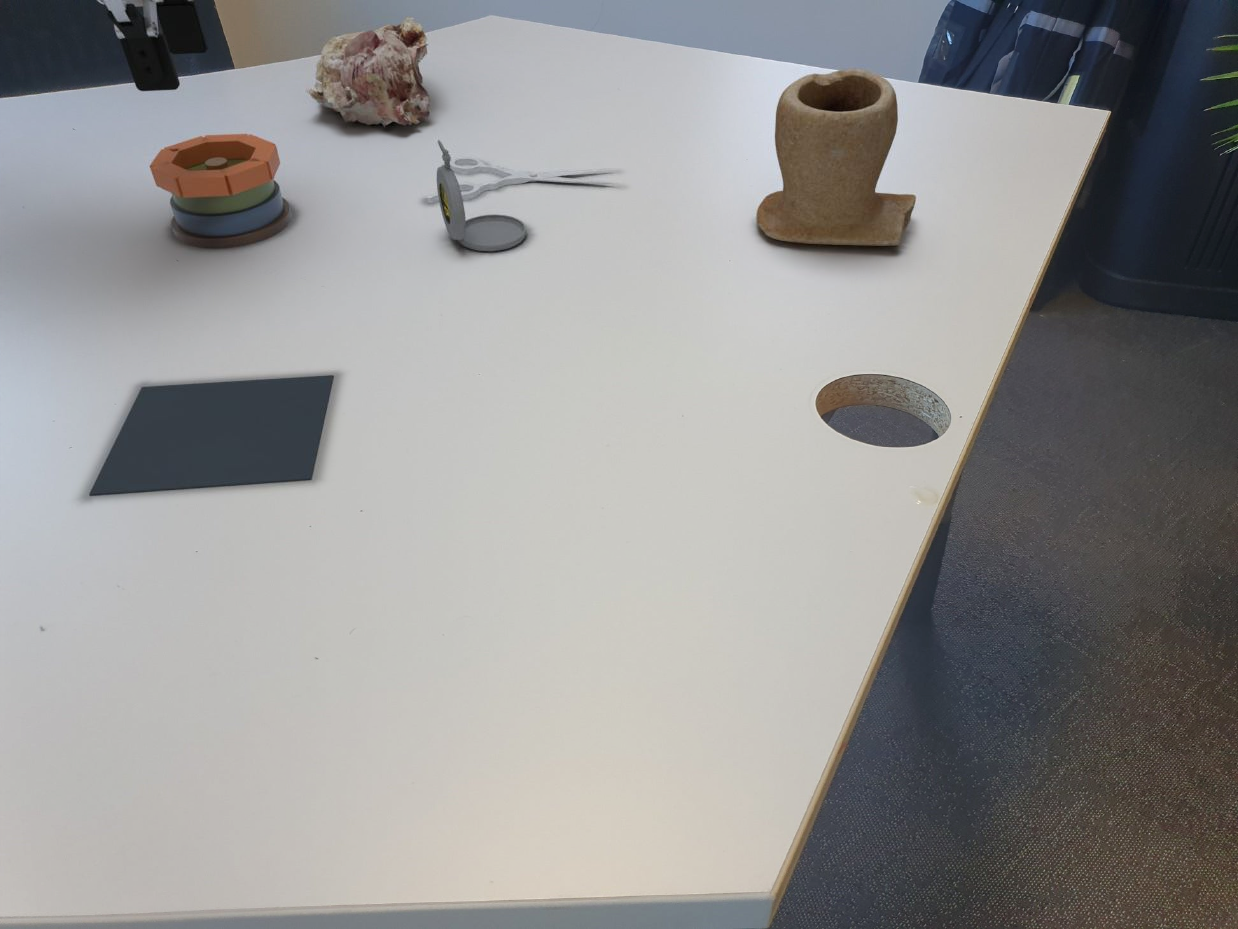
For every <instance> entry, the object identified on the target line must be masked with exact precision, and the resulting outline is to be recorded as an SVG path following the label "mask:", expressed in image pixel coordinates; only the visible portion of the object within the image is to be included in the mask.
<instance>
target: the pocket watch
mask: <svg viewBox="0 0 1238 929" xmlns="http://www.w3.org/2000/svg"><path fill="white" fill-rule="evenodd" d="M437 145H438V146H439V149H440V151H441V153H442V154H441V158H442V161H443V163H444V164H443V165H441V166H438V167H437V169H436V191H437V194H438V197H439V201H438V202H439V208H440V211H441V215H442V219H443V223H444V225H445V228H446V231H447V233H448V235H449V237H450V238H451V239H452V240H456V241H458V242H459V244H461V245H462V246H463V247H465V248H468V249H470V250H474V251H479V252H496V251H497V252H498V251H502V250H503V251H504V250H507V249H510V248H513V247H516V246H517V245H519V244H520V243H522V241H523V240H524V239H525V238H526V235H527V227H526V225H525V223H524V222H523V221H522V220H520V219H519V218H516V217H514V216H510V215H506V214H484V215H483V214H482V215H478V216H474V217H471V218H468V219H466V212H465V211H466V210H465V204H464V201H463V199H462V195H461V193H462V190H461V191H460V187H459V184H458V183H459V181H458V178H457V176H456V174H455V172H454V171H453V170H452V169H451V168H450V167H451V166H450V161H451V160H452V157H451V155H450V154H449V153H450V151H449V150H448V149H446V148H445V146H444V144H443V143H442V141H441V140H440V139H438V140H437Z"/></svg>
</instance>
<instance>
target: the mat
mask: <svg viewBox="0 0 1238 929" xmlns="http://www.w3.org/2000/svg"><path fill="white" fill-rule="evenodd" d="M334 378H335V377H334V374H329V375H328V374H327V375H314V376H313V375H312V376H296V377H280V378H265V379H249V380H232V381H231V380H230V381H215V382H214V381H213V382H200V383H199V382H197V383H183V384H171V385H170V384H168V385H152V386H150V385H149V386H141V388H140V390H139V392H138V393H137V396H136V397H135V400H134V402H133V404H132V406H131V408H130V410H129V412H128V414H127V416H126V417H125V420H124V422H123V424H122V426H121V429H120V430H119V433H118V434H117V437H116V438H115V441H114V442H113V444H112V447H111V449H110V450H109V452H108V455H107V457H106V458H105V461H104V463H103V464H102V467H101V468H100V471H99V473H98V475H97V477H96V479H95V481H94V483H93V485H92V488H91V489H90V492H89V493H88V495H89V496H90V497H94V496H95V497H97V496H107V495H108V496H110V495H122V494H136V493H139V494H140V493H151V492H166V491H179V490H180V491H181V490H194V489H207V488H220V487H235V486H249V485H262V484H274V483H275V484H277V483H290V482H292V483H293V482H305V481H312V480H313V476H314V470H315V465H316V461H317V457H318V451H319V447H320V442H321V437H322V433H323V430H324V429H323V428H324V424H325V419H326V414H327V411H328V405H329V400H330V396H331V391H332V387H333V382H334Z"/></svg>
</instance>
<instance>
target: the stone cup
mask: <svg viewBox="0 0 1238 929" xmlns="http://www.w3.org/2000/svg"><path fill="white" fill-rule="evenodd" d="M897 100H898V99H897V94H896V91H895V89H894V87H893V85H892V84H891V82H889V81H888V79H886V78H884V77H883V76H881V75H879V74H877V73H874V72H872V71H868V70H862V69H857V68H847V69H846V68H845V69H838V70H836V71H832V72H830V73H829V72H828V73H811V74H806V75H804V76H802V77H800V78H798V79H796V80H795V81H794V82H792V83H790V84H789V85H788V86H787V87H786V88H785V89H784V91H782V93H781V95H780V97H779V98H778V102H777V105H776V111H775V123H774V124H775V125H774V126H775V127H774V145H775V146H774V147H775V153H776V158H777V161H778V166H779V170H780V174H781V180H782V190H778V191H777V190H776V191H774V192H772V193H769V194H768V195H766V196H765V197H764V198H763V199H762V201H761V202H760V204H759V205H758V207H757V210H756V217H755V219H756V224H757V226H758V227H759V229H761V230H762V231H763V232H764V235H765V236H766V237H769V238H771V239H774V240H777V241H781V242H788V243H789V242H790V243H799V244H809V245H834V246H875V247H876V246H879V247H885V246H886V247H891V246H898V245H900V244H901V242H902V238H903V235H904V232H905V231H906V229H907V228H908V226H909V224H910V221H911V218H912V214H913V211H914V209H915V204H916V201H917V196H916V195H915V194H908V193H907V194H906V193H905V194H904V193H903V194H902V193H901V194H899V193H889V192H887V193H886V192H876V189H877V185H878V182H879V179H880V176H881V175H882V174H881V173H882V172H883V168H884V166H885V163H886V161H887V158H888V156H889V153H890V151H891V148H892V146H893V142H894V140H895V137H896V134H897V129H898V122H899V115H898V114H899V112H898V111H899V110H898V109H899V108H898V101H897Z"/></svg>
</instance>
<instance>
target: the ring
mask: <svg viewBox="0 0 1238 929" xmlns="http://www.w3.org/2000/svg"><path fill="white" fill-rule="evenodd" d="M212 158H225V159H245V160H247V161H245V162H242V163H239V164H236V165H233V166H231V167H228V168H225V169H222V170H200V171H188V170H185V169H186V168H189V167H192V166H195V165H198V164H201V163H204V162H206V161H207V160H209V159H212ZM280 165H281V160H280V156H279V152H278V148H277V145H276V144H275V143H274V142H272V141H269V140H267V139H264V138H262V137H259V136H256V135H254V134H252V133H250V134H248V133H232V134H230V133H228V134H206V135H204V136H202V135H200V136H197V137H194V138H190V139H187V140H184V141H181V142H178V143H175V144H171V145H169V146H165V147H164V148H163V149H160V151H158V153H157V155H156V156H155V157H154V159H153V160H152V161H151V163H150V164H149V169H150V172H151V174H152V177H153V180H154V183H155V186H156V187H157V188H160V189H162V190H164V191H166V192H168V193H170V194H172V193H173V194H175V195H177V196H179V197H182V196H184V198H189V197H212V196H229V195H230V194H232V195H235V194H238V193H241V192H243V191H246V190H249V189H251V188H254V187H257V186H259V185H262V184H265V183H267V182H270V181H271V180H274V179H275V177H276V175H277V171H278V169H279V167H280Z"/></svg>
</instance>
